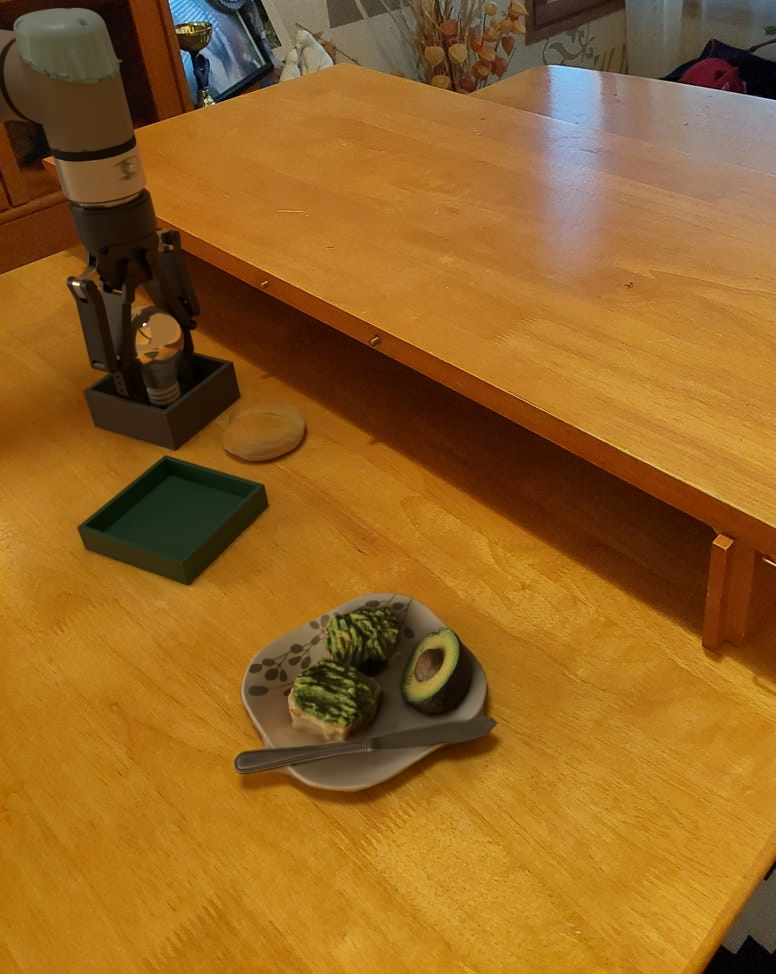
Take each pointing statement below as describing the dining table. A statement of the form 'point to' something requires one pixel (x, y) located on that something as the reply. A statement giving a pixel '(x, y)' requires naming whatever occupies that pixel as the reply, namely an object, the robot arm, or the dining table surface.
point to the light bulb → (157, 352)
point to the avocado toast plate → (362, 694)
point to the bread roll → (264, 428)
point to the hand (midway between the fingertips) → (165, 398)
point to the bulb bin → (178, 418)
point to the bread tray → (174, 518)
